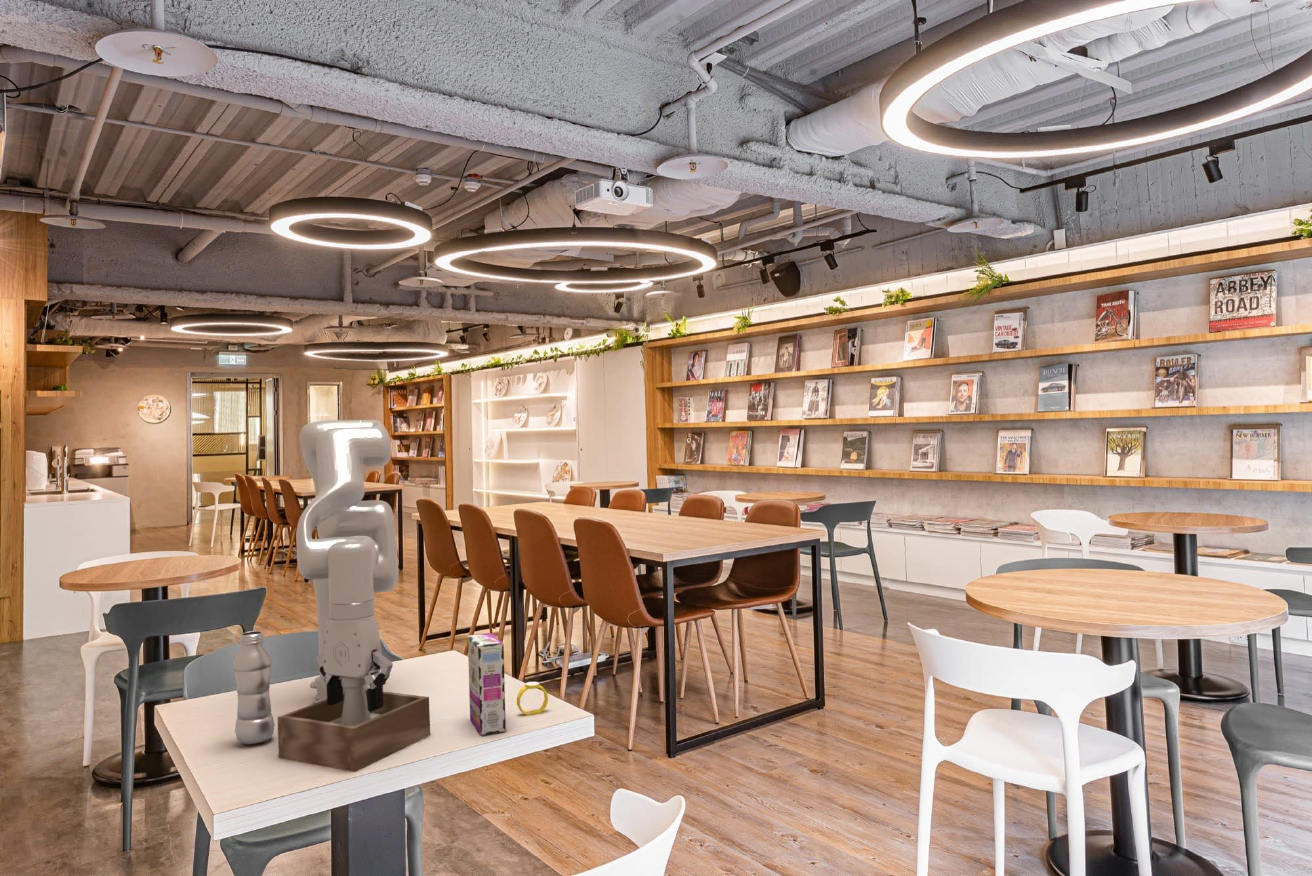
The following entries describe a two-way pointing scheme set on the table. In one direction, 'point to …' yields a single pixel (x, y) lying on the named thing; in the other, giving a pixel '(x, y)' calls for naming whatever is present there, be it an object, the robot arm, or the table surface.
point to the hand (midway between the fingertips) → (355, 706)
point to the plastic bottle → (253, 690)
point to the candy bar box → (486, 683)
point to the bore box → (353, 732)
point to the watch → (532, 686)
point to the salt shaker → (354, 702)
